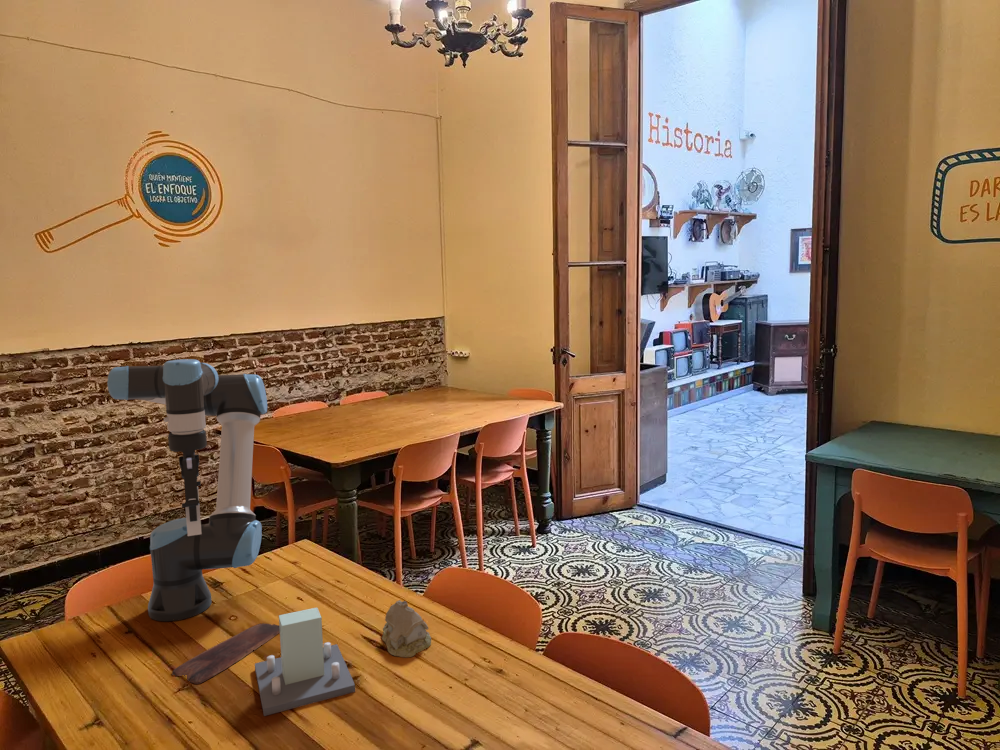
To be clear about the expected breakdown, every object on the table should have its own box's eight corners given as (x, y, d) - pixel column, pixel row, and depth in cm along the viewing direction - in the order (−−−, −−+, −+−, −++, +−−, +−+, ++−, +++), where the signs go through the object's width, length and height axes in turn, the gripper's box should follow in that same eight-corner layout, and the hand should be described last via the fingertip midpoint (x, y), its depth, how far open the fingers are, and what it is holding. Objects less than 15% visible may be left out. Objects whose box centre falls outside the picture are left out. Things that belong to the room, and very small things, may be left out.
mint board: (282, 672, 143) (278, 615, 142) (320, 663, 147) (317, 607, 145) (285, 684, 139) (281, 625, 137) (324, 675, 142) (321, 617, 141)
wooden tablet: (261, 617, 169) (289, 620, 165) (262, 625, 170) (291, 629, 165) (167, 671, 146) (198, 677, 141) (169, 680, 146) (199, 687, 142)
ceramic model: (441, 646, 156) (440, 605, 155) (398, 662, 150) (397, 620, 148) (411, 623, 167) (409, 585, 166) (370, 637, 161) (368, 598, 159)
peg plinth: (255, 669, 147) (253, 650, 147) (337, 650, 155) (336, 631, 154) (264, 716, 131) (262, 694, 131) (355, 691, 139) (354, 671, 138)
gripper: (168, 422, 155) (176, 510, 158) (166, 444, 133) (174, 546, 135) (204, 419, 158) (210, 506, 161) (207, 440, 136) (214, 540, 138)
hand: (194, 524), depth 148 cm, fingers open, 13 cm apart
